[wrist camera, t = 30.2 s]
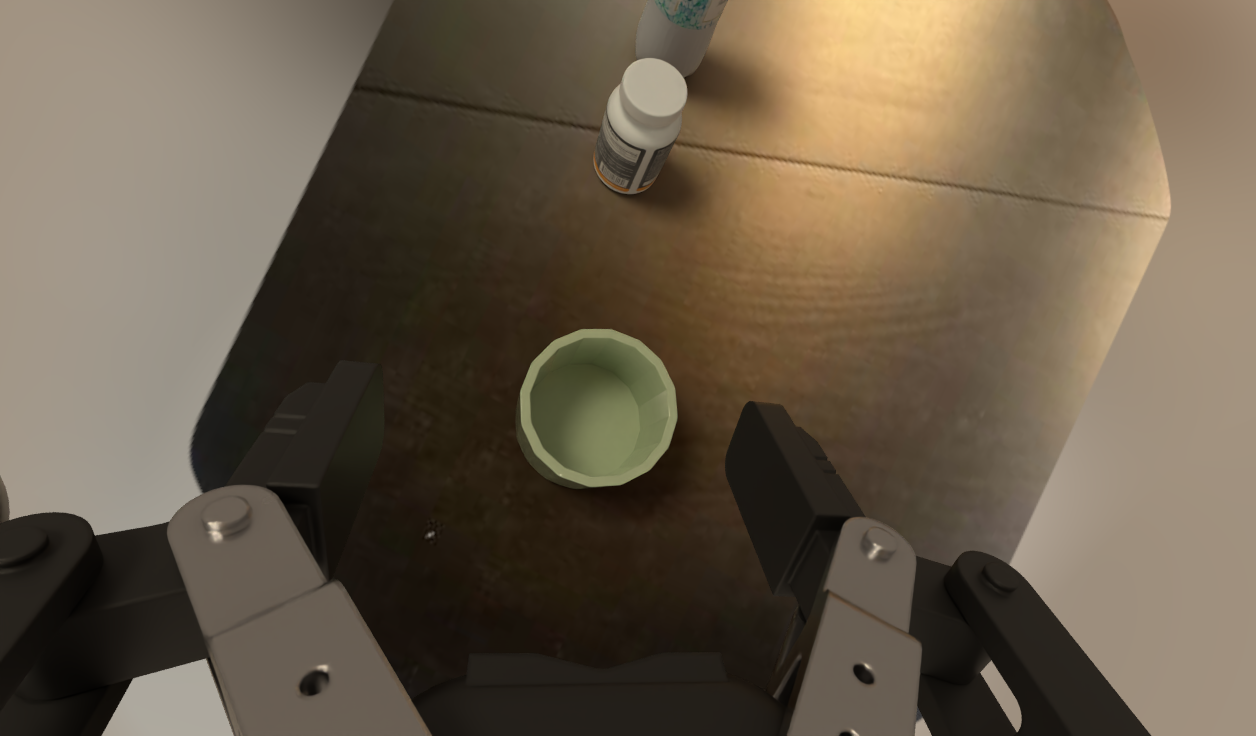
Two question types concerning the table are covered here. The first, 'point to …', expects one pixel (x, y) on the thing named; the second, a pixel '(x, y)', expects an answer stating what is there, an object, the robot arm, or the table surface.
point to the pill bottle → (640, 125)
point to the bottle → (678, 31)
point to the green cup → (595, 410)
